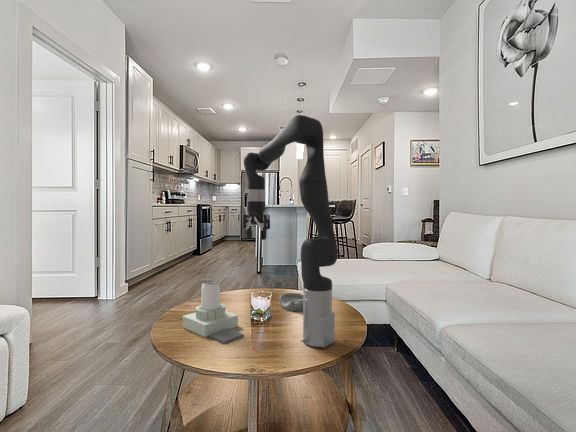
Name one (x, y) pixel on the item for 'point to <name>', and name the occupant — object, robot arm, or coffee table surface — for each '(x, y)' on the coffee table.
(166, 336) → the coffee table surface
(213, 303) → the can
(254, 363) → the coffee table surface
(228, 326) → the pedestal block
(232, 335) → the slate coaster
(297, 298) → the dish
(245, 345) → the coffee table surface
